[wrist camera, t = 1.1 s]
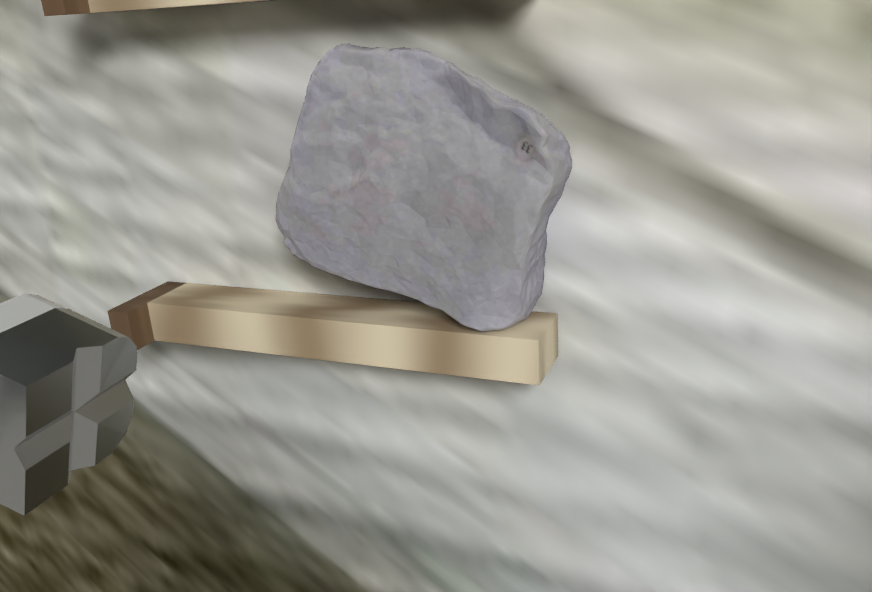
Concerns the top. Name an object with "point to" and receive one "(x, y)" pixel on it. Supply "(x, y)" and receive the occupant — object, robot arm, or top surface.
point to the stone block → (423, 184)
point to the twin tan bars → (324, 308)
